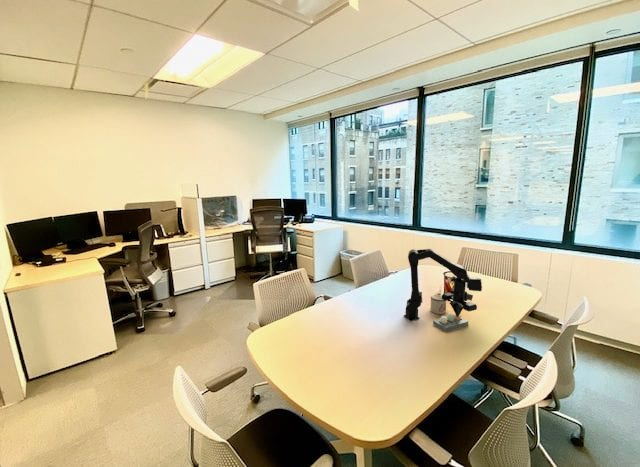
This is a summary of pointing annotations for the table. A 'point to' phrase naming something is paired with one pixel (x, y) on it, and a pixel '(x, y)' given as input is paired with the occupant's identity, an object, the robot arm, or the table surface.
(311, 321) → the table surface
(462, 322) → the panel
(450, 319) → the sage button
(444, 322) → the cream button
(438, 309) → the teacup with lid
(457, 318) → the terracotta button
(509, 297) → the table surface
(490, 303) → the table surface
